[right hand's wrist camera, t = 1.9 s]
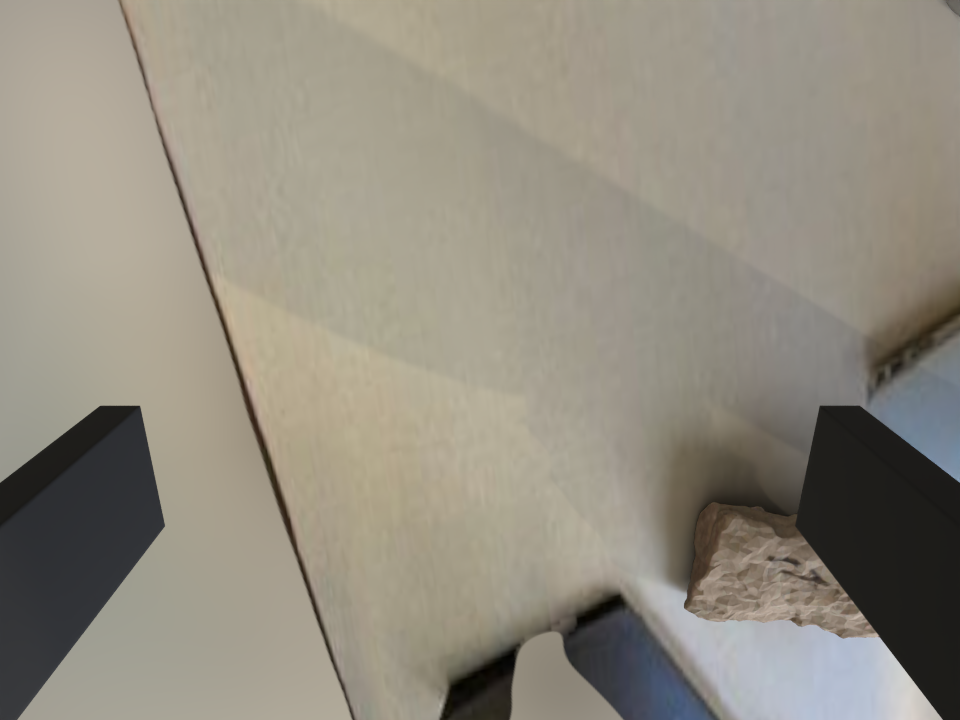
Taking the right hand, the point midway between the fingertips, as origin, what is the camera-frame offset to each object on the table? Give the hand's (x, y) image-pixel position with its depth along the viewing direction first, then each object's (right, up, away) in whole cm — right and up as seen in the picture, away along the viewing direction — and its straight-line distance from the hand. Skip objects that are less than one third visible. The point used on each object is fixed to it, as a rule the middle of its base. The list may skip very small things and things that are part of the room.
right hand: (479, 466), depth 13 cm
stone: (+30, -16, +50) cm, 61 cm away
